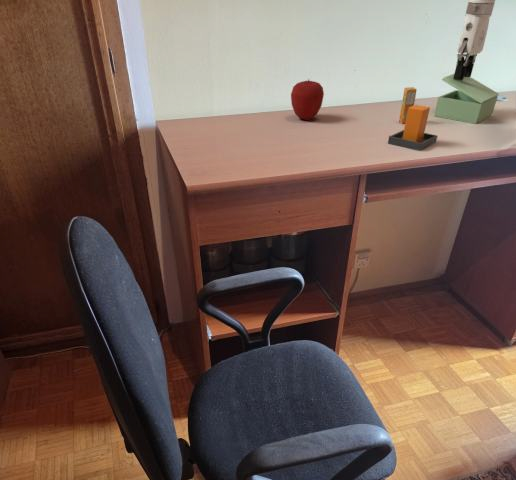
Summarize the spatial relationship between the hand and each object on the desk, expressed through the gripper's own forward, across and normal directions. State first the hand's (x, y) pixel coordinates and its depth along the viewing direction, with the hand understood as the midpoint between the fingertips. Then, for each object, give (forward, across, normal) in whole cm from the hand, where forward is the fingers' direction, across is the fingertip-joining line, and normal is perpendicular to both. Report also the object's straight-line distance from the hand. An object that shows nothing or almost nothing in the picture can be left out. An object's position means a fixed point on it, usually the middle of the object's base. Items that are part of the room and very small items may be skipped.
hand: (461, 77), depth 149 cm
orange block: (+11, -39, -5) cm, 41 cm away
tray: (+11, -39, -5) cm, 41 cm away
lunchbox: (+11, 0, -4) cm, 12 cm away
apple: (+11, -39, +34) cm, 53 cm away
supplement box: (+11, -21, +7) cm, 25 cm away
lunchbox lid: (+3, 0, -4) cm, 4 cm away
